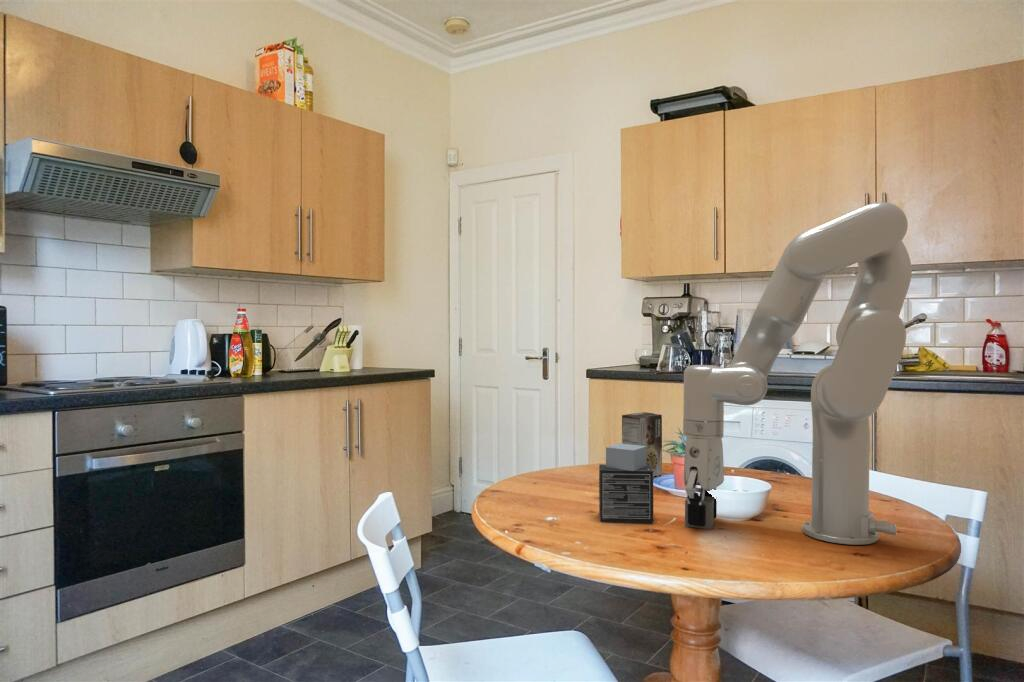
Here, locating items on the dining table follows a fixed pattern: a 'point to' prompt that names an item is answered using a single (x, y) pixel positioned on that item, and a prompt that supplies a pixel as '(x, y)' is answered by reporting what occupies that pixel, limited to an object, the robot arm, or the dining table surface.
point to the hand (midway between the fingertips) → (702, 520)
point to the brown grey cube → (708, 513)
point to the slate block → (626, 457)
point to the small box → (626, 495)
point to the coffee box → (645, 436)
